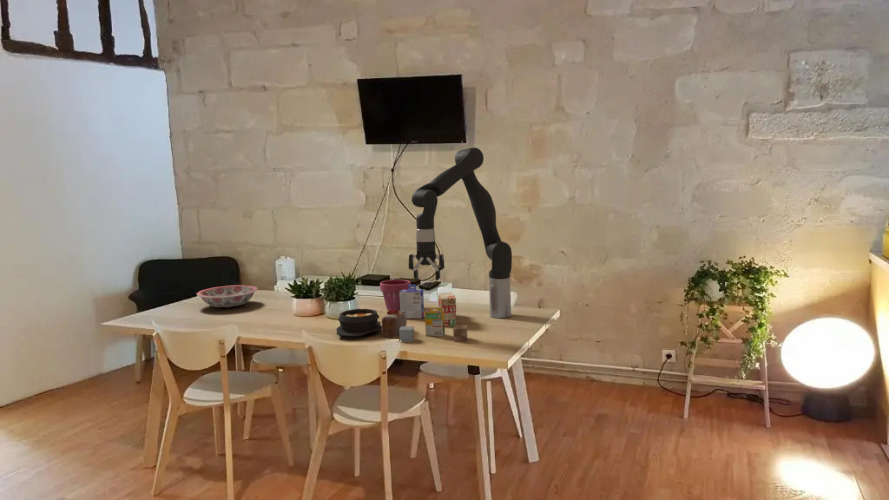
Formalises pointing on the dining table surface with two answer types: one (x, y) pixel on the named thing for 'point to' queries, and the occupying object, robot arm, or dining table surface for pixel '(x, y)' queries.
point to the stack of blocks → (448, 307)
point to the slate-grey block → (406, 333)
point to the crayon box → (434, 322)
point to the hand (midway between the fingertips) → (426, 279)
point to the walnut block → (460, 333)
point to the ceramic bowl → (227, 295)
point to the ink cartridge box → (412, 302)
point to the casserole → (358, 322)
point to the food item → (393, 323)
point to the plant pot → (393, 292)
